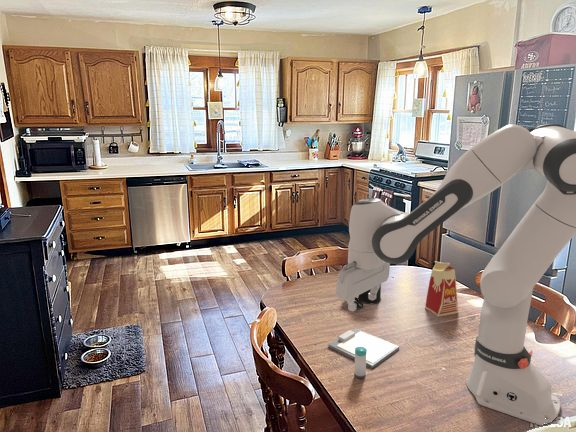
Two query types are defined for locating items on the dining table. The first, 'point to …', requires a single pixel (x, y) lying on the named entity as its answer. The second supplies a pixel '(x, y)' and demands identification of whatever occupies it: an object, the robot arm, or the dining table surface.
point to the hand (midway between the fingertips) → (362, 304)
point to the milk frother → (365, 299)
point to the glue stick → (360, 362)
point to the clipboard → (373, 344)
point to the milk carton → (442, 290)
